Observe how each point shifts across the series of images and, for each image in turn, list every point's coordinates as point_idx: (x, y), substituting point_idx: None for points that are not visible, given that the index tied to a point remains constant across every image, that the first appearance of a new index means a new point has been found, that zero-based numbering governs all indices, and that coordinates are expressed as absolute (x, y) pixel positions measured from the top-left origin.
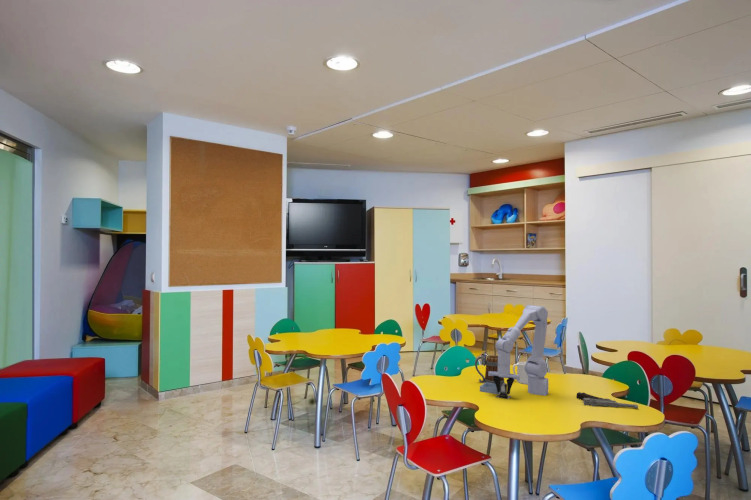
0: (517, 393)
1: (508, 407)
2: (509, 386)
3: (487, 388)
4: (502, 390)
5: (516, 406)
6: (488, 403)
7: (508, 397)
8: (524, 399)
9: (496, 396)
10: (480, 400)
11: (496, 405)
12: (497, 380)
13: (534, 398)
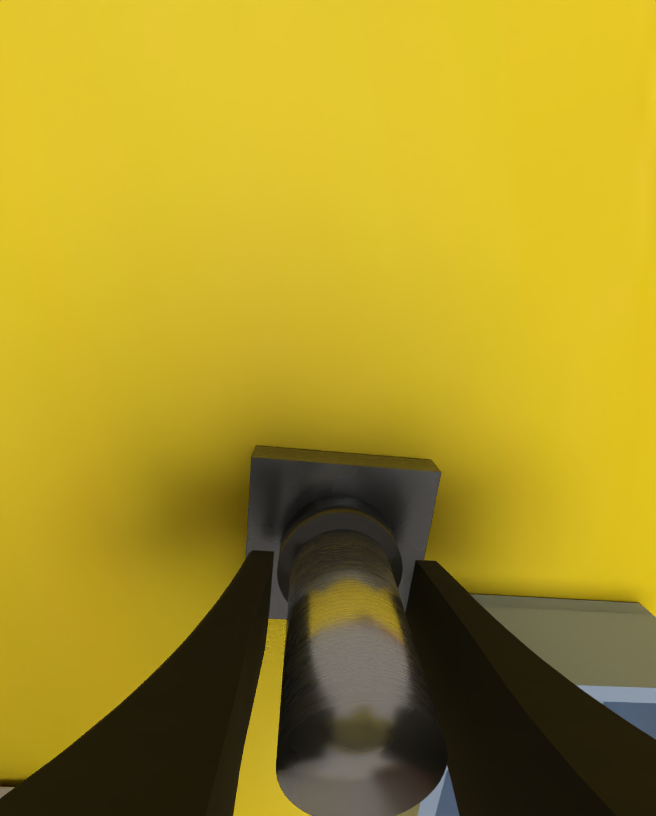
0: None
1: (163, 97)
2: (177, 661)
3: (606, 668)
4: (358, 578)
5: (71, 237)
6: (501, 170)
7: (264, 537)
8: (93, 627)
9: (429, 500)
10: (626, 279)
11: (367, 115)
12: (609, 803)
13: (8, 718)
